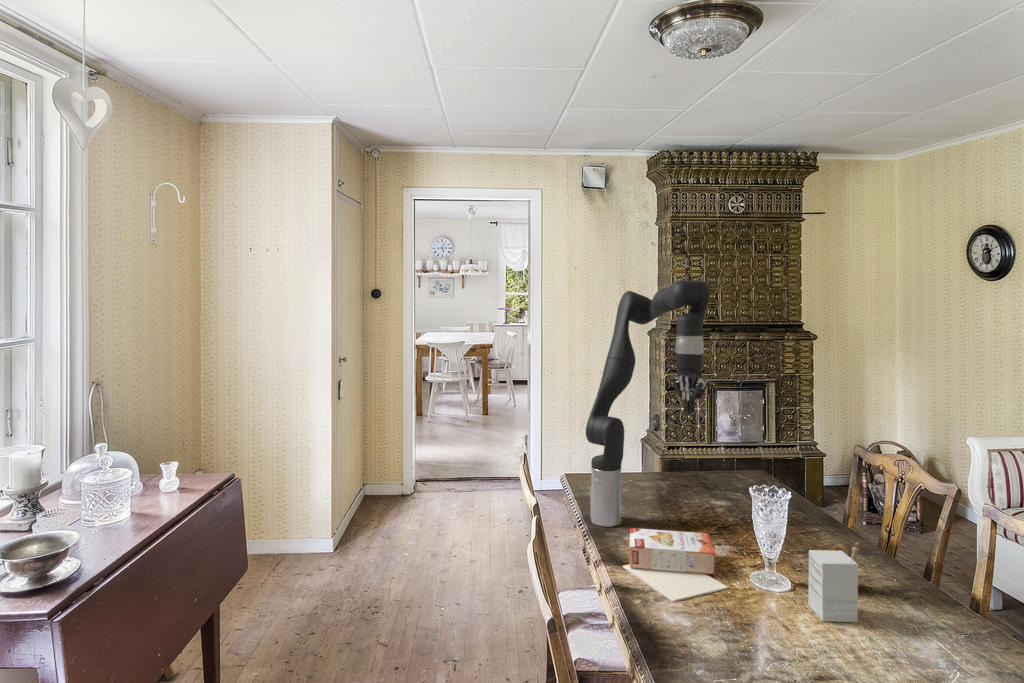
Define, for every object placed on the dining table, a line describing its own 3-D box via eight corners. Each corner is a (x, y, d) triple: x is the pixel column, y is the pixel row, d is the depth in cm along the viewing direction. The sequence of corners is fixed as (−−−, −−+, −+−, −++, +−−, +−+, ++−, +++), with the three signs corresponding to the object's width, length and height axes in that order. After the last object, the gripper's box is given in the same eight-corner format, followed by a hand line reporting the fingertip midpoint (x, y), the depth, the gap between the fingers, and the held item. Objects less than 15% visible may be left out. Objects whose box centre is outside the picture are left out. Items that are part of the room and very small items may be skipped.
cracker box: (715, 551, 144) (629, 546, 148) (715, 575, 144) (629, 569, 148) (708, 531, 157) (629, 526, 162) (708, 553, 158) (629, 548, 162)
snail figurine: (850, 596, 134) (851, 545, 133) (824, 585, 139) (824, 536, 139) (864, 591, 136) (865, 540, 136) (838, 580, 142) (839, 532, 141)
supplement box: (841, 606, 130) (842, 549, 129) (858, 623, 122) (859, 564, 122) (807, 604, 130) (808, 548, 130) (821, 621, 123) (822, 562, 122)
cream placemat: (622, 567, 150) (622, 565, 150) (673, 556, 156) (673, 555, 156) (672, 601, 132) (672, 600, 132) (727, 588, 138) (727, 586, 138)
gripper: (663, 351, 168) (663, 411, 169) (694, 353, 156) (694, 418, 157) (684, 350, 171) (684, 409, 172) (716, 352, 159) (716, 416, 160)
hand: (689, 413), depth 164 cm, fingers closed
